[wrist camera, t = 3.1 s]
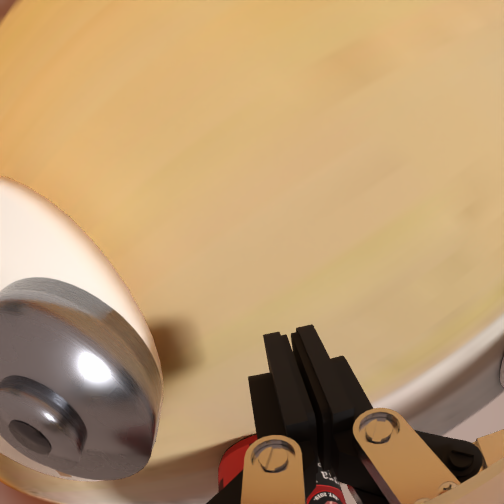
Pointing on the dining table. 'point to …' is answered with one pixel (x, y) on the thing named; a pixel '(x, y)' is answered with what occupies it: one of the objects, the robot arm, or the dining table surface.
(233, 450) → the canned food
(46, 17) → the dining table surface
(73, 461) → the cover
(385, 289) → the dining table surface
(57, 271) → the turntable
